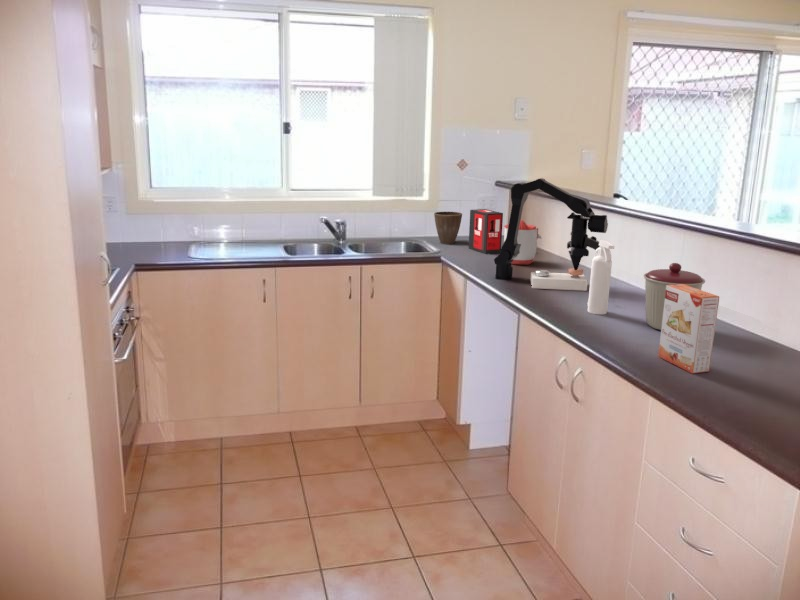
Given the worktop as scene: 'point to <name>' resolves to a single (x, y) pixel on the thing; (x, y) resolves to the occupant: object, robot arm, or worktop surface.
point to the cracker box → (688, 327)
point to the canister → (657, 290)
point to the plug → (542, 273)
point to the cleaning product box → (485, 231)
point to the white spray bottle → (600, 279)
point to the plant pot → (447, 226)
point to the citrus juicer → (525, 243)
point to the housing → (559, 281)
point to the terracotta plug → (575, 272)
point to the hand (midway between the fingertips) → (575, 269)
